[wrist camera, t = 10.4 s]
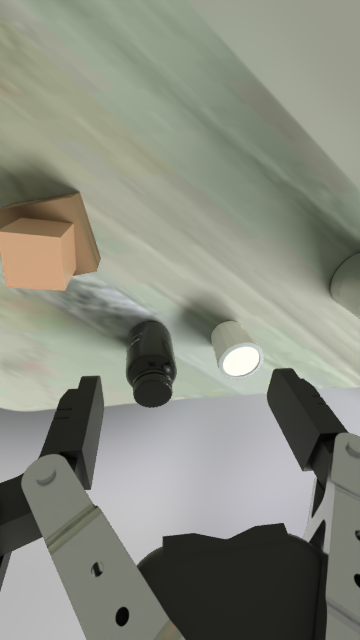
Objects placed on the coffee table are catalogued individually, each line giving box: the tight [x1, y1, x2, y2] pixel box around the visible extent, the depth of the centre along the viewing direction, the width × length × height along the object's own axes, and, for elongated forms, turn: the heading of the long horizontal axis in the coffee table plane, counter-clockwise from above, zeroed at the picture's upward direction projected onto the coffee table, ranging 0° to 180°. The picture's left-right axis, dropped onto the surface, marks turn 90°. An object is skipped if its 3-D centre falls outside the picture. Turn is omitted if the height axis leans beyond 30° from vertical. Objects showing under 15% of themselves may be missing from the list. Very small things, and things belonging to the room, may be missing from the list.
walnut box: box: [0, 192, 101, 276], centre depth 31 cm, size 8×8×5 cm
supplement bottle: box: [126, 321, 177, 408], centre depth 38 cm, size 7×7×12 cm
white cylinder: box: [211, 321, 264, 379], centre depth 42 cm, size 7×7×7 cm
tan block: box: [0, 218, 76, 291], centre depth 27 cm, size 5×5×6 cm
